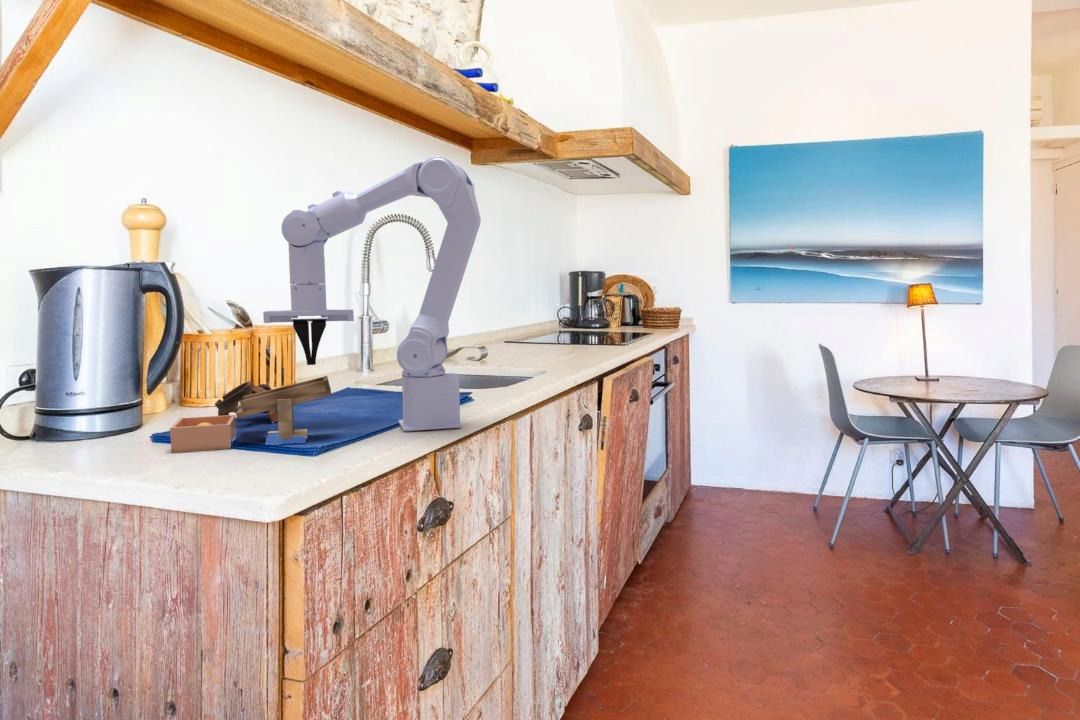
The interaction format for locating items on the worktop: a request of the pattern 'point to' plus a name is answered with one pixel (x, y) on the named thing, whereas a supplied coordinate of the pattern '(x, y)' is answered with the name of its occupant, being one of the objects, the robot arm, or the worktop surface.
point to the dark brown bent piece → (237, 395)
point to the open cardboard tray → (203, 433)
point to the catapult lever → (283, 396)
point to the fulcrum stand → (287, 421)
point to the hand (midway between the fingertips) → (311, 364)
